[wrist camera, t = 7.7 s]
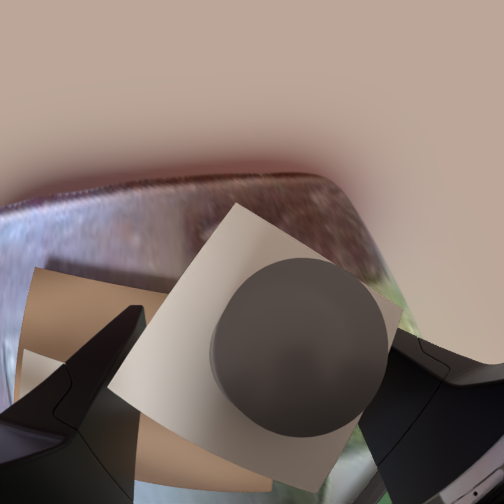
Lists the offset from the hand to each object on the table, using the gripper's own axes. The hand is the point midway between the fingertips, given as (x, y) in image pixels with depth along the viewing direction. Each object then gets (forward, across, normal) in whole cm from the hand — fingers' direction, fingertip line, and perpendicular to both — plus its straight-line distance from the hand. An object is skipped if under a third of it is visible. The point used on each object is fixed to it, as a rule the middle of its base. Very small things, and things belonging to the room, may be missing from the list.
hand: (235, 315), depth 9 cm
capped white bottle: (+4, 0, +6) cm, 7 cm away
